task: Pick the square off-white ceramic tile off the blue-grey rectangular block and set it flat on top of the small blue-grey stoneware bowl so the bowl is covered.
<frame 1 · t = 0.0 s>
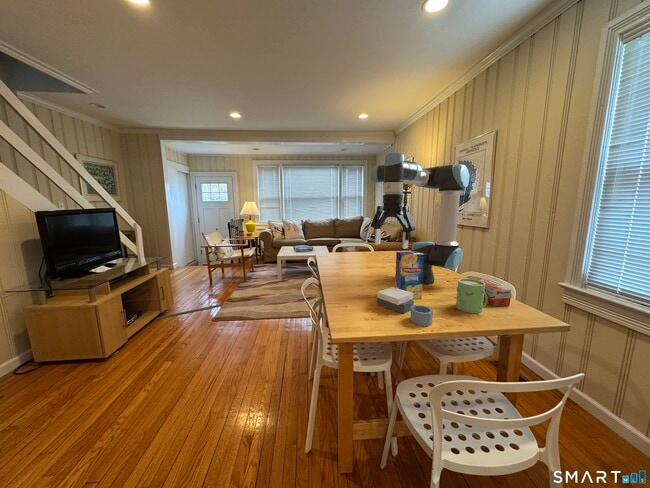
hand: (390, 246, 105), 28 cm above the table, fingers open, 13 cm apart
blue-grey rectangular block: (394, 306, 113), on the table
mug: (471, 309, 110), on the table
medicine box: (488, 300, 120), on the table
blue cereal box: (407, 297, 125), on the table
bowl: (421, 321, 99), on the table
tile: (395, 298, 112), point 4 cm above the table, touching blue-grey rectangular block
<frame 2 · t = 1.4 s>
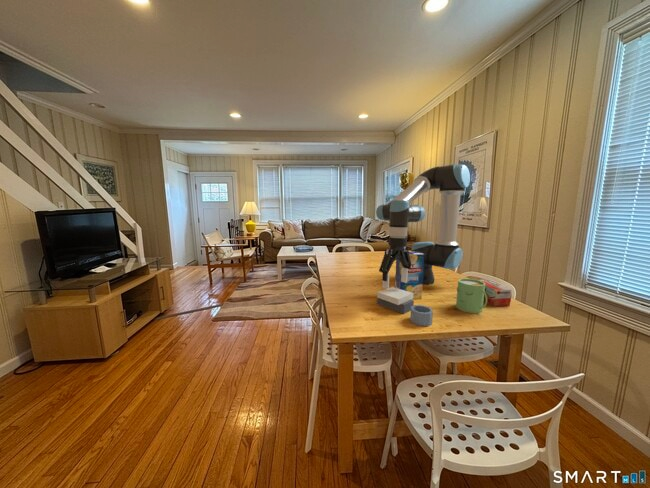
hand: (395, 285, 111), 10 cm above the table, fingers open, 13 cm apart
nothing on the table moved.
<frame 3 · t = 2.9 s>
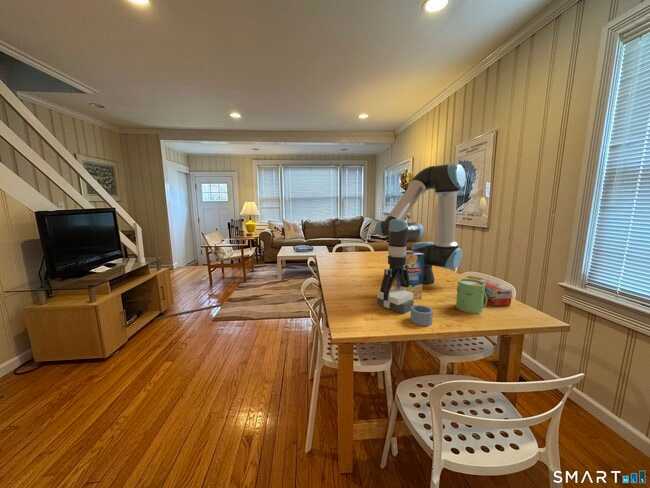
hand: (394, 303, 113), 1 cm above the table, fingers closed on tile, 11 cm apart
tile: (395, 298, 112), point 4 cm above the table, touching gripper, blue-grey rectangular block
everything else where it was.
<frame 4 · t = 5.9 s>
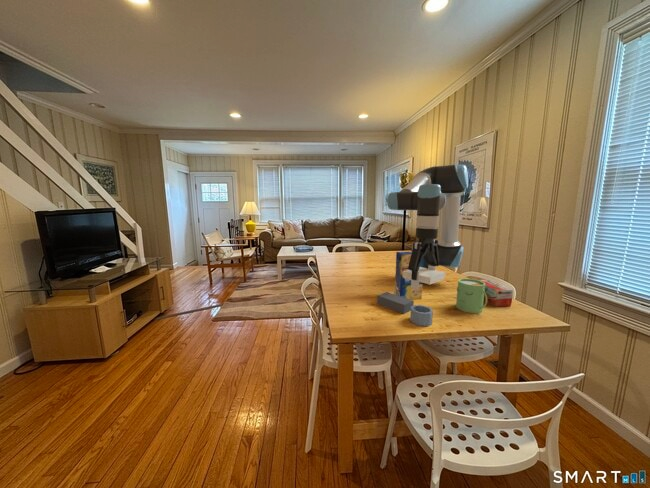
hand: (423, 284, 96), 15 cm above the table, fingers closed on tile, 11 cm apart
tile: (423, 278, 96), point 17 cm above the table, touching gripper
everything else where it was.
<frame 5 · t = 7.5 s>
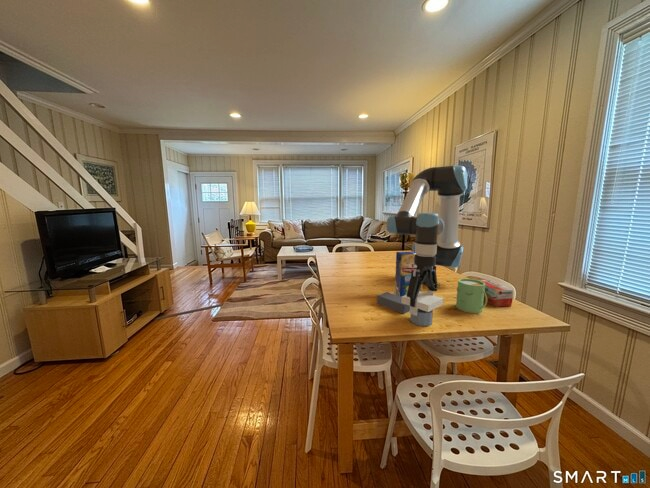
hand: (421, 310, 98), 5 cm above the table, fingers closed on tile, 11 cm apart
tile: (422, 303, 98), point 7 cm above the table, touching gripper
everything else where it was.
when the fingers open (4 cm above the table, at t = 8.7 s): tile drops 1 cm, resting on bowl.
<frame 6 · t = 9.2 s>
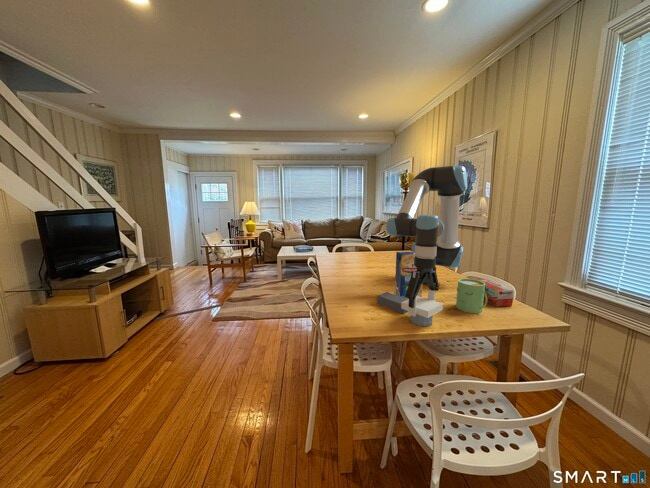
hand: (421, 310, 98), 4 cm above the table, fingers open, 13 cm apart
tile: (421, 309, 98), point 5 cm above the table, touching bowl
everything else where it was.
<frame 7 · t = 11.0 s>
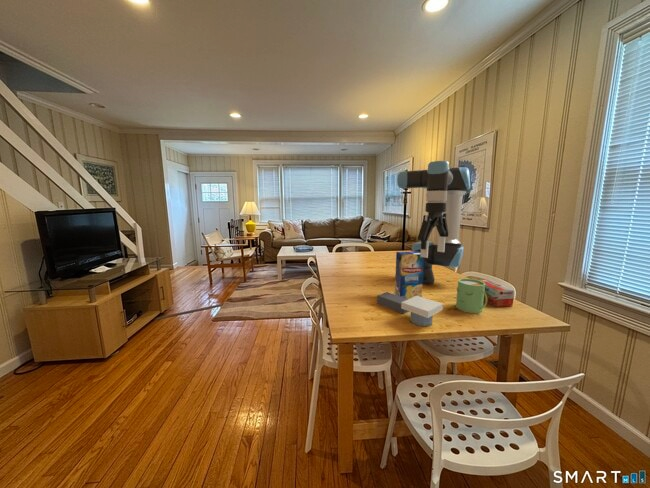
hand: (432, 254, 104), 25 cm above the table, fingers open, 13 cm apart
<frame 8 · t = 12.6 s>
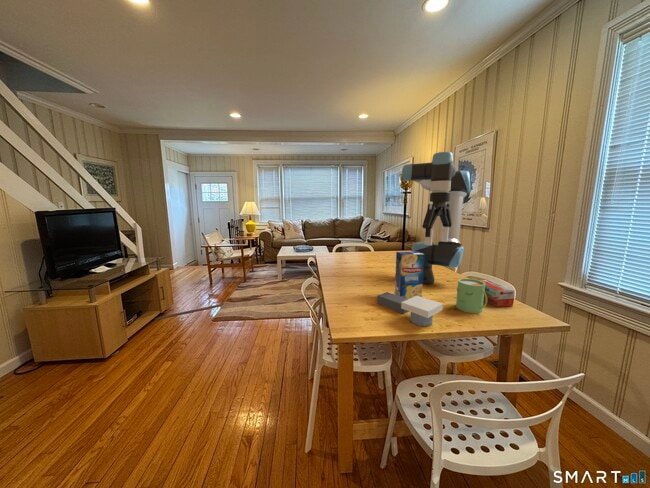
hand: (436, 243, 107), 29 cm above the table, fingers open, 13 cm apart
at the end: tile 0.0 cm off-centre on the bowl, point 5.0 cm above the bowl's base; tile tilted 0°; the gripper is holding nothing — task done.
